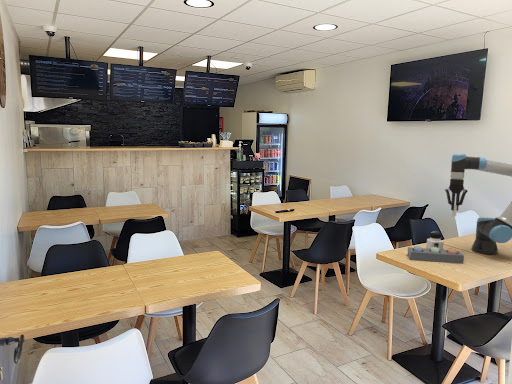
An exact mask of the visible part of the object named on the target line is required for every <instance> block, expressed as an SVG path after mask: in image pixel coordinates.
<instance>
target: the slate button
mask: <svg viewBox="0 0 512 384" xmlns="http://www.w3.org/2000/svg"><path fill="white" fill-rule="evenodd" d="M413 248H414V251H419V252H422V248H423V247H422V246H419V245H415V246H414V245H413Z"/></svg>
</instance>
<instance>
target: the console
mask: <svg viewBox="0 0 512 384" xmlns="http://www.w3.org/2000/svg"><path fill="white" fill-rule="evenodd" d="M407 256H408V259H409V260H410V261H423V262H435V263H436V262H437V263H438V262H439V263H450V264H451V263H452V264H462V265H463V264H464V262H465V261H464V260H465V259H464V258H465V255H464V254H463V252H461V251H460V250H458V249H457V254H449V253H448V249H444V248H443V249H439V253H434V252H431V249H428V248H426V247H425V248H424V247H422V252H419V251H414V246H413V247H412V246H411V247H409V246H408V247H407Z"/></svg>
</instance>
